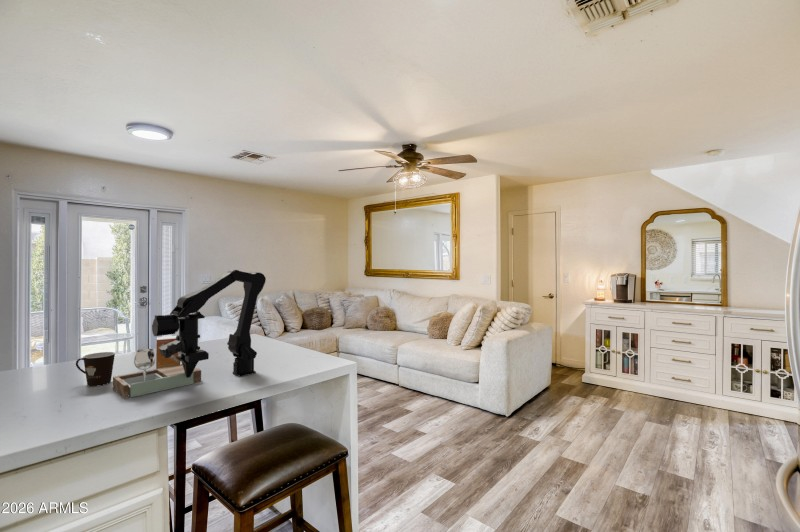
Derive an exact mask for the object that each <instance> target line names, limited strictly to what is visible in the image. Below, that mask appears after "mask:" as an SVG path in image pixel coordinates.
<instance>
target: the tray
mask: <svg viewBox="0 0 800 532" xmlns="http://www.w3.org/2000/svg"><path fill="white" fill-rule="evenodd" d="M122 380H123V381H124V382H126V383H127V384H128V385H129V397H130V398H133V397H139V396H143V395H148V394H151V393H156V392H161V391H166V390H169V389H174V388H179V387H182V386H183V387H184V386H188V385H193V384H194V383H193V373H192V375H191V377H189V378H187V377H186V375H185V373H183V374H178V375H173V376H168V377H162V376H160V375H158V374H157V373H153V374H148V375H146V381H144V375H143V376H137V377H132V378H127V379H122Z"/></svg>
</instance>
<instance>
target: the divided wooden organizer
mask: <svg viewBox="0 0 800 532" xmlns="http://www.w3.org/2000/svg"><path fill="white" fill-rule="evenodd" d="M143 371H144V370H142V371H139V372H132V373H127V374H122V375H117V376H115V375H114V376H112V389H113V390H114V389H115V390H116V391H117V392H118V393H119V394H120V395H119V396H120V397H122V399H127V398H126V397H128V398H129V397H130V396H129V385H128V384H127V383H126V382H124V381H123V380H122V379H127V378H132V377H137V376H143ZM146 372H147V373H146V375H148V374H153V373H157V374H158V375H160V376H162V377H168V376H173V375H178V374H183V373H185V371H184V368H183V365H182V363H180V365H175V366H170V367H164V368H159V369H156V368H154V369H147V370H146ZM199 382H202V370H201V369H200V368H197V367H195V369H194V371H193V384H195V383H199ZM115 390H114V391H115ZM116 391H115V392H116ZM117 392H116V393H117ZM118 393H117V394H118Z"/></svg>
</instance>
